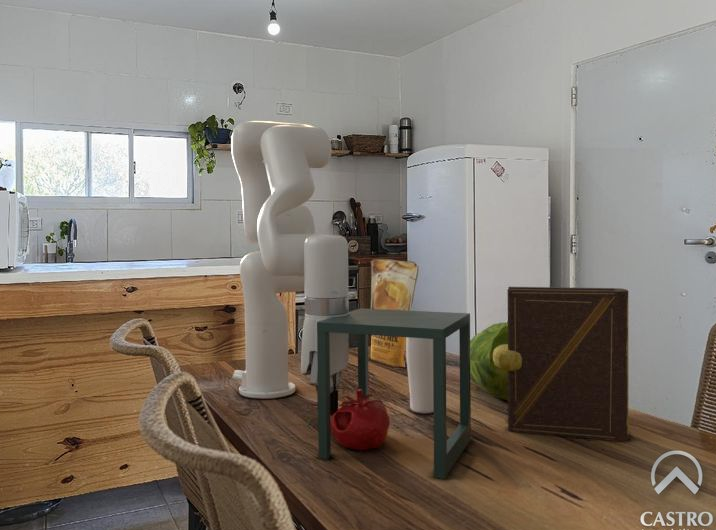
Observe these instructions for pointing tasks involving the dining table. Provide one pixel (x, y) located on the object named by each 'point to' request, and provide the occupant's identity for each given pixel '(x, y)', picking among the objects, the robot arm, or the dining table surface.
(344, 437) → the pomegranate
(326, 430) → the bench
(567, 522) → the dining table surface
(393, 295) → the pancake mix bag
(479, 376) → the lettuce
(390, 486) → the dining table surface
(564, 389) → the book
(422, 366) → the white paper cup
